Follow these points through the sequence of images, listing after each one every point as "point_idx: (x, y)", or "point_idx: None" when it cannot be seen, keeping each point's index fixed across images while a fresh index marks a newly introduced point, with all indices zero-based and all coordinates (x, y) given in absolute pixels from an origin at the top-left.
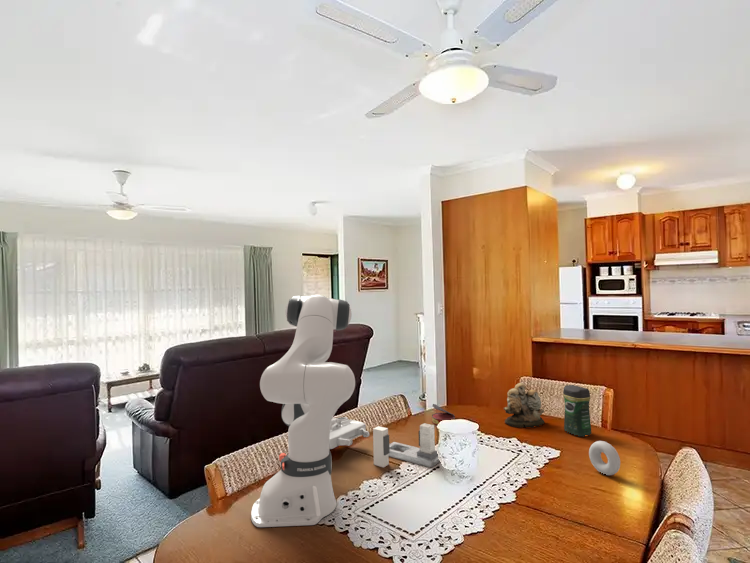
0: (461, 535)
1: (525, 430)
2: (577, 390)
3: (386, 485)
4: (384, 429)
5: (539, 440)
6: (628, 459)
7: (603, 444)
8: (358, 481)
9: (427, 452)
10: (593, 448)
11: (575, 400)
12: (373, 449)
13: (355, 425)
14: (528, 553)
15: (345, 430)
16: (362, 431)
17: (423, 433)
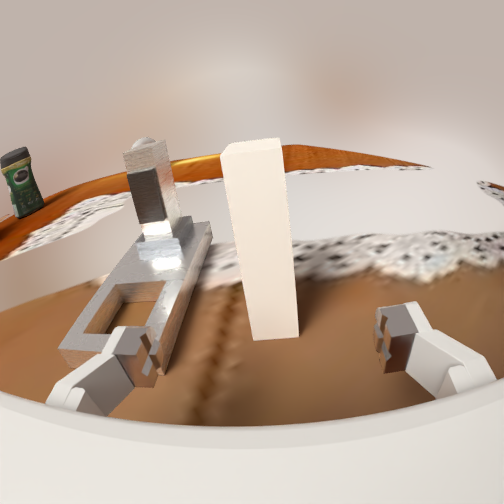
0: (387, 167)
1: (6, 237)
2: (24, 148)
3: (385, 241)
4: (255, 140)
5: (47, 217)
6: (107, 179)
7: (146, 138)
8: (445, 286)
9: (179, 220)
10: None
11: (27, 161)
12: (293, 272)
13: (17, 449)
14: (356, 153)
15: (266, 477)
16: (90, 394)
17: (161, 167)
